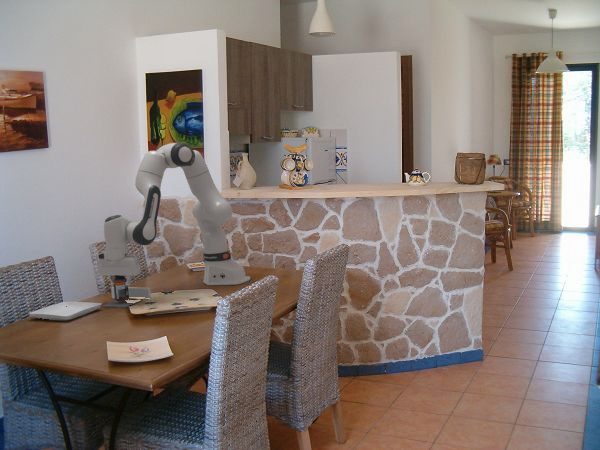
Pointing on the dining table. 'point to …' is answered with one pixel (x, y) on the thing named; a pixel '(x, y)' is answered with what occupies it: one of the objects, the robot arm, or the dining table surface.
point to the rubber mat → (117, 304)
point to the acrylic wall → (135, 292)
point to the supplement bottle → (120, 288)
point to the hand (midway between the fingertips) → (120, 285)
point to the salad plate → (65, 310)
